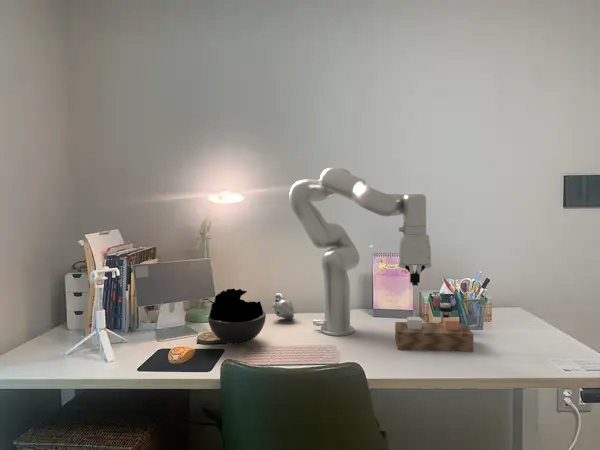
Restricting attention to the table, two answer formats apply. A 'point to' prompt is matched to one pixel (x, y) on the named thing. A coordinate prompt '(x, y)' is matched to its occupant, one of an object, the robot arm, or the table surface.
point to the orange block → (450, 324)
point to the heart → (283, 307)
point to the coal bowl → (235, 317)
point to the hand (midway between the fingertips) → (414, 284)
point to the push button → (445, 310)
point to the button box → (433, 338)
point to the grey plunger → (414, 323)
